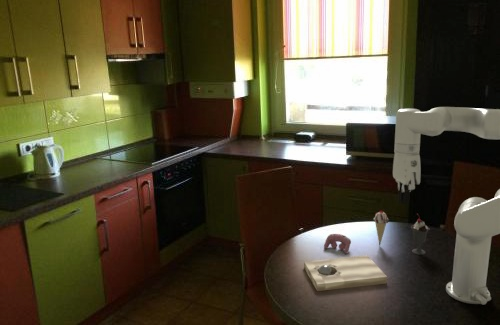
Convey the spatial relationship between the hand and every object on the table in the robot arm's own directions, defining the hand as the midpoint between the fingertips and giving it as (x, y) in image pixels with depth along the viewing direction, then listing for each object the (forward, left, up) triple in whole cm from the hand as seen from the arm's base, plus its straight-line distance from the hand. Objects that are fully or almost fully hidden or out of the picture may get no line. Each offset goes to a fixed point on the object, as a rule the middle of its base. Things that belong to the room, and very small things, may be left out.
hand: (403, 202), depth 144 cm
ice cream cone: (+24, -4, -27) cm, 37 cm away
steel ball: (+5, +25, -25) cm, 35 cm away
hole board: (+5, +18, -27) cm, 33 cm away
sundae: (+16, -16, -27) cm, 35 cm away
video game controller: (+25, +13, -27) cm, 39 cm away
